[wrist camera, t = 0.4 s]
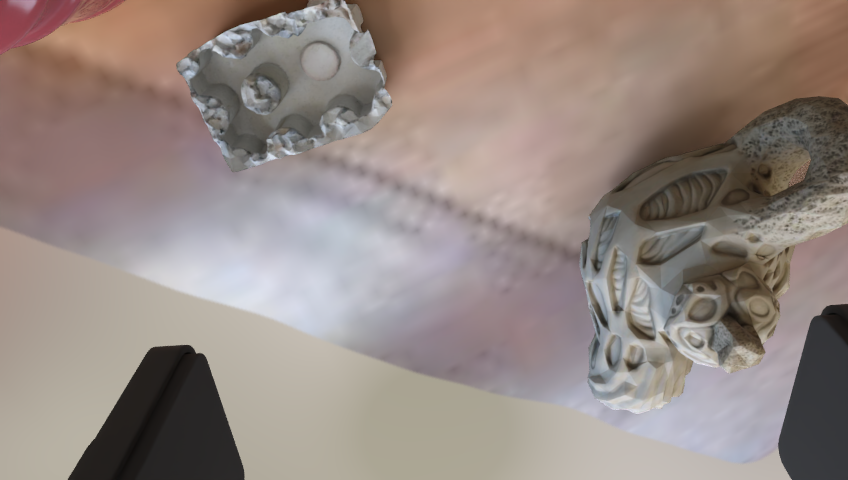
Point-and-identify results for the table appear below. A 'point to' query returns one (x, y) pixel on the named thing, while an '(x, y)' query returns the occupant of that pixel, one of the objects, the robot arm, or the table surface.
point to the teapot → (708, 251)
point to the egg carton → (288, 83)
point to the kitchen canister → (43, 18)
